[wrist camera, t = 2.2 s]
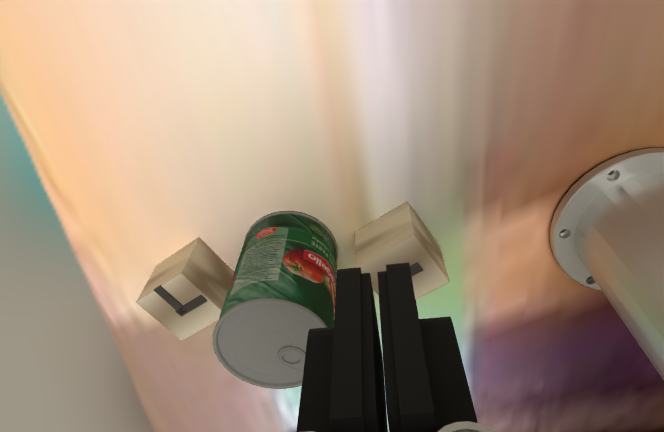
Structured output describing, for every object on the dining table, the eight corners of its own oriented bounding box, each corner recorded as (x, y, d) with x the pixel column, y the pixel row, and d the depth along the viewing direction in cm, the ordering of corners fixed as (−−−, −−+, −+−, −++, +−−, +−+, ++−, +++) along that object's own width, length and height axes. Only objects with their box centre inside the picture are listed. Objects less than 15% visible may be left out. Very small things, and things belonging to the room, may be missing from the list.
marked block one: (439, 244, 40) (449, 283, 36) (387, 271, 42) (392, 312, 37) (407, 200, 38) (414, 236, 34) (354, 231, 40) (355, 269, 35)
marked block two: (238, 275, 42) (225, 316, 38) (197, 300, 44) (180, 341, 40) (198, 235, 40) (179, 273, 36) (156, 263, 42) (134, 302, 38)
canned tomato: (226, 255, 41) (188, 352, 32) (280, 192, 38) (255, 279, 28) (300, 301, 44) (286, 405, 34) (357, 246, 40) (358, 343, 31)
